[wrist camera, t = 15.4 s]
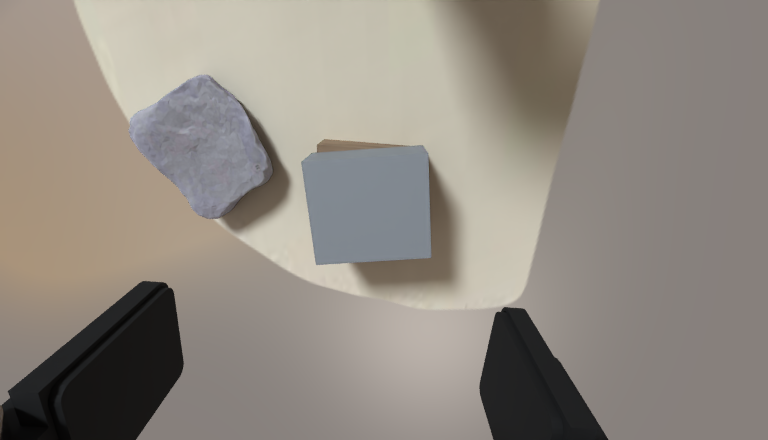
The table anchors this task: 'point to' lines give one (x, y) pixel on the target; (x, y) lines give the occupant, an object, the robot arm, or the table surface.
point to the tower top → (369, 204)
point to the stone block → (203, 145)
